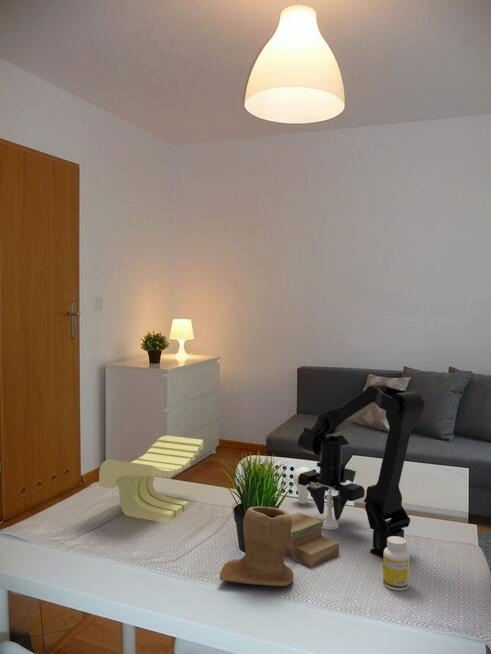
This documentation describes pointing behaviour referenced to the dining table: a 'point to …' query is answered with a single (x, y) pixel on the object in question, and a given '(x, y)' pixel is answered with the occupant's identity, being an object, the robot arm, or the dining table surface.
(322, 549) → the step stand
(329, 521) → the chess piece
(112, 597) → the dining table surface
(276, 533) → the brown suede boot
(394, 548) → the supplement bottle
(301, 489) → the lightbulb
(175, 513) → the slatted curved stool
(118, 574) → the dining table surface
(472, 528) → the dining table surface
